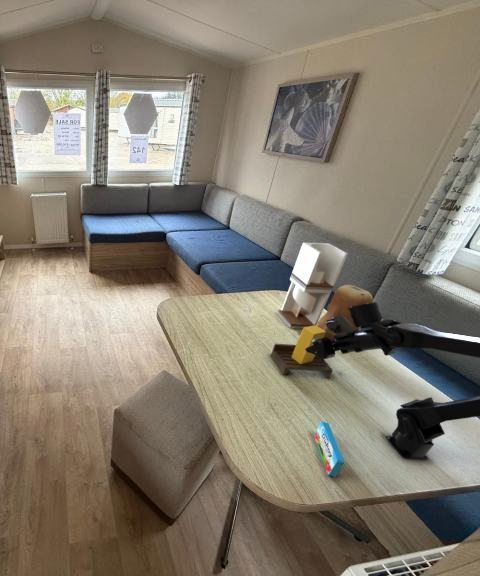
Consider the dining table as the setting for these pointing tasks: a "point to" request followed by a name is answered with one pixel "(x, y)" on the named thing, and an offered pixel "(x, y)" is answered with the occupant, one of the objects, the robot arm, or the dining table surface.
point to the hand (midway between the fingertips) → (316, 347)
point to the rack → (285, 361)
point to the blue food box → (328, 449)
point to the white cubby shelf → (311, 283)
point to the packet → (307, 343)
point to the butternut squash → (344, 306)
